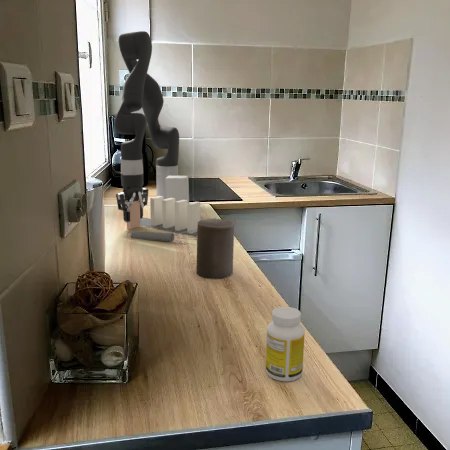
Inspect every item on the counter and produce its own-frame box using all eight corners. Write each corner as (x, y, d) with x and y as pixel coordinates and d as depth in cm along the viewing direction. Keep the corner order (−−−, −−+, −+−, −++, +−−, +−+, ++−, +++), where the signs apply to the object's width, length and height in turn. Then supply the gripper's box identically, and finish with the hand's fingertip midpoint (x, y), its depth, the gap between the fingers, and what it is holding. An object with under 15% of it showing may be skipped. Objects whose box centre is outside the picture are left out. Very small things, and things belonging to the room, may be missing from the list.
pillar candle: (200, 280, 123) (202, 223, 119) (192, 267, 132) (193, 214, 128) (237, 277, 125) (239, 221, 122) (227, 265, 135) (229, 213, 131)
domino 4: (183, 227, 173) (183, 199, 170) (187, 227, 172) (187, 200, 169) (174, 230, 168) (174, 201, 166) (178, 230, 168) (178, 202, 165)
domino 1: (136, 226, 174) (136, 199, 172) (140, 227, 173) (139, 199, 171) (126, 229, 170) (126, 201, 167) (130, 230, 169) (129, 202, 167)
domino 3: (171, 224, 175) (171, 197, 173) (175, 225, 175) (175, 198, 172) (162, 227, 171) (162, 199, 169) (166, 228, 170) (166, 200, 168)
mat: (143, 218, 186) (143, 217, 186) (212, 231, 169) (212, 230, 169) (125, 223, 178) (125, 222, 178) (195, 237, 161) (195, 236, 161)
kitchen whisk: (132, 235, 163) (131, 217, 161) (225, 248, 151) (226, 229, 150) (121, 240, 157) (121, 221, 156) (218, 254, 146) (218, 234, 144)
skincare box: (189, 214, 195) (189, 175, 191) (186, 217, 188) (186, 178, 184) (169, 213, 195) (168, 174, 192) (165, 216, 189) (165, 177, 185)
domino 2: (159, 222, 178) (159, 195, 176) (163, 223, 177) (163, 196, 175) (150, 225, 174) (150, 198, 172) (154, 226, 173) (154, 198, 171)
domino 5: (196, 229, 170) (196, 201, 167) (200, 230, 169) (200, 202, 166) (187, 232, 166) (187, 203, 163) (191, 233, 165) (191, 204, 162)
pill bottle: (298, 363, 85) (302, 304, 82) (305, 383, 79) (309, 320, 76) (263, 363, 85) (265, 304, 82) (267, 383, 79) (270, 320, 76)
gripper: (138, 169, 174) (139, 214, 179) (108, 173, 163) (110, 222, 167) (154, 171, 170) (155, 217, 175) (125, 175, 159) (126, 225, 163)
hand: (133, 219), depth 171 cm, fingers open, 5 cm apart
